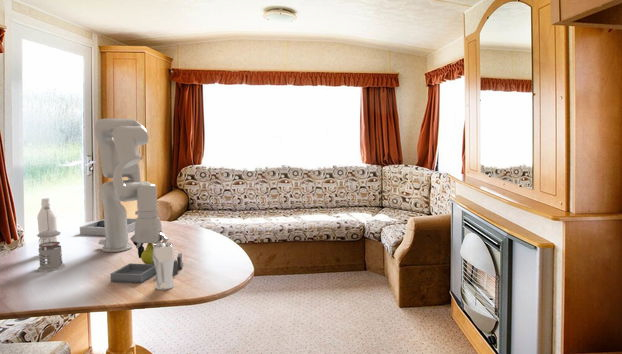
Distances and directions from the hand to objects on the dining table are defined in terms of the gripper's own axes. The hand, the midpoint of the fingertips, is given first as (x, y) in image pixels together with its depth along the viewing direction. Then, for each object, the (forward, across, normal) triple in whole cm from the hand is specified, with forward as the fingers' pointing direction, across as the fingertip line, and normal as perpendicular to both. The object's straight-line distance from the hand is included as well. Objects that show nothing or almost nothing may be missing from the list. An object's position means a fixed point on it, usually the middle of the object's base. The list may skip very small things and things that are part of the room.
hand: (150, 257), depth 170 cm
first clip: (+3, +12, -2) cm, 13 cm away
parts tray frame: (+3, -53, +55) cm, 76 cm away
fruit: (+3, 0, 0) cm, 3 cm away
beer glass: (+3, +18, -22) cm, 29 cm away
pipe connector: (+4, -55, +54) cm, 77 cm away
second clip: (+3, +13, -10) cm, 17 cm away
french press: (+3, -39, -8) cm, 40 cm away
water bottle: (+3, -53, +8) cm, 54 cm away
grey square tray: (+3, +2, -14) cm, 15 cm away
